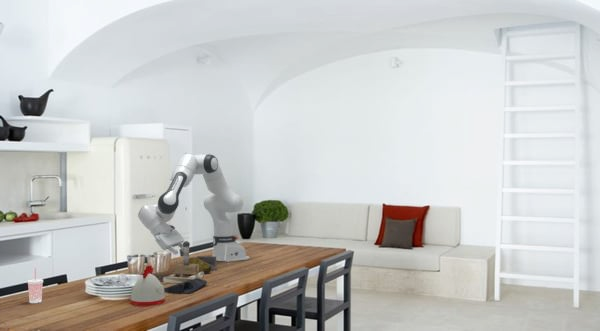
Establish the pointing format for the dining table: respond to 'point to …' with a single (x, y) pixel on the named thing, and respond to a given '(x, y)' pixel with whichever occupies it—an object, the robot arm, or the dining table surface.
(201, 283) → the dark slate chunk
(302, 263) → the dining table surface
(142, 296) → the grey and red dome
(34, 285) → the beverage cup
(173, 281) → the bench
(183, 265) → the wooden knobbed block
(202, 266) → the olive green rounded lump
